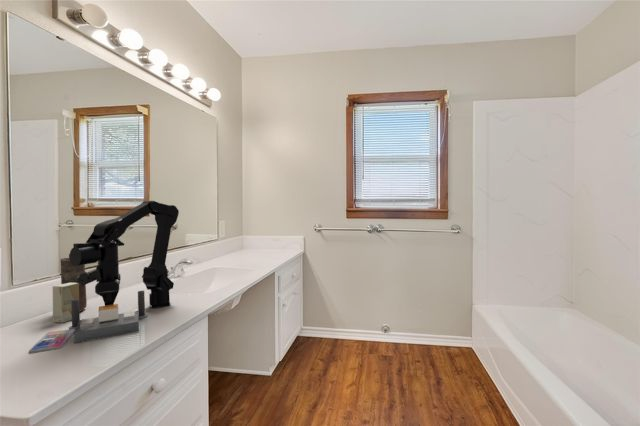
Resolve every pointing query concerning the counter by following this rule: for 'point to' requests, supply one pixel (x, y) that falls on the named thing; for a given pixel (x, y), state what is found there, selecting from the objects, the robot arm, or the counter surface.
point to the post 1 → (75, 313)
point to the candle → (73, 279)
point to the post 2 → (141, 305)
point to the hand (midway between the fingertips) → (109, 307)
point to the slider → (108, 312)
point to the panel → (106, 327)
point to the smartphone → (52, 341)
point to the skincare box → (64, 301)
